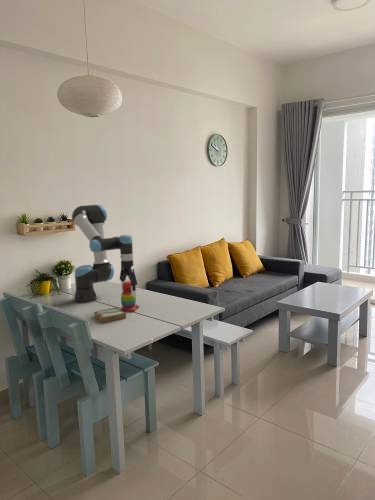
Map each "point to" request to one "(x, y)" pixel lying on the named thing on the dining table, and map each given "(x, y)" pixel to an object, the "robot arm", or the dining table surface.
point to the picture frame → (110, 315)
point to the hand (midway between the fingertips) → (128, 293)
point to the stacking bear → (128, 298)
